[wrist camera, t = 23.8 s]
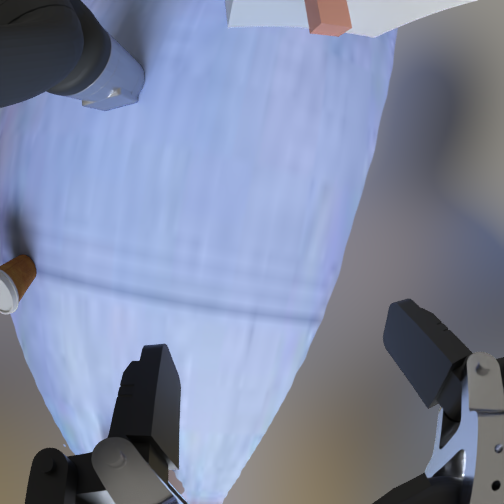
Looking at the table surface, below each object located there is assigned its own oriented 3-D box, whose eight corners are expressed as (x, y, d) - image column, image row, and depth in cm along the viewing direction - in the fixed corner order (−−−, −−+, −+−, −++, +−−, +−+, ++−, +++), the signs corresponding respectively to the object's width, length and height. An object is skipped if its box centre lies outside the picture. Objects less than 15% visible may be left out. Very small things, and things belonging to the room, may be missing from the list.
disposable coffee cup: (30, 293, 48) (5, 323, 37) (6, 262, 44) (-23, 287, 33) (49, 273, 47) (21, 303, 36) (23, 238, 43) (-9, 262, 32)
